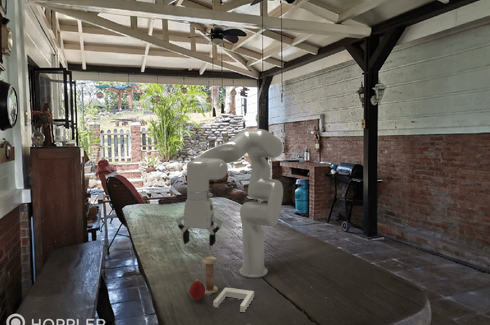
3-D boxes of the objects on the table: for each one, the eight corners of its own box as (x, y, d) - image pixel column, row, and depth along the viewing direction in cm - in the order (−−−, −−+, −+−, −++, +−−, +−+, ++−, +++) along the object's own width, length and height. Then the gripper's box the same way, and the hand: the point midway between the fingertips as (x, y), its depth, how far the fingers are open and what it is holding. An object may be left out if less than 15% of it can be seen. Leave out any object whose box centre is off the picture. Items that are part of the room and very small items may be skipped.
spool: (206, 287, 140) (205, 255, 139) (220, 289, 138) (219, 257, 137) (199, 293, 134) (199, 261, 133) (214, 295, 132) (213, 262, 131)
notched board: (225, 293, 134) (225, 287, 134) (254, 297, 130) (254, 291, 130) (213, 308, 123) (213, 301, 122) (244, 313, 119) (244, 306, 119)
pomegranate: (206, 296, 132) (205, 275, 131) (204, 303, 126) (204, 282, 125) (190, 296, 132) (190, 276, 131) (188, 304, 126) (188, 282, 125)
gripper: (225, 194, 122) (226, 242, 123) (180, 193, 127) (181, 239, 128) (217, 198, 115) (218, 249, 116) (170, 196, 120) (172, 245, 121)
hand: (199, 243), depth 122 cm, fingers open, 9 cm apart
